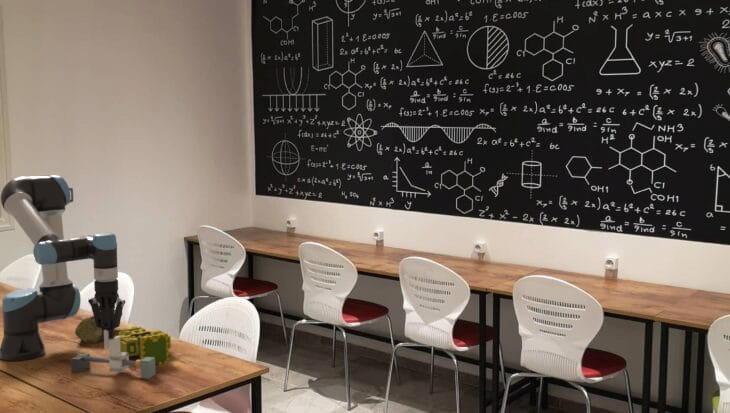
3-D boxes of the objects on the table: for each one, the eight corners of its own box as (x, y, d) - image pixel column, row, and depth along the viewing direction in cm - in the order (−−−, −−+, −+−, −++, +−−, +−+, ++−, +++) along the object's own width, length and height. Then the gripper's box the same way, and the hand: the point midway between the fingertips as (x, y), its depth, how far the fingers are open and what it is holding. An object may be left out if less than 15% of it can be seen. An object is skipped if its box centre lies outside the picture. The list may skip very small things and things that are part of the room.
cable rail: (71, 371, 252) (70, 354, 252) (82, 366, 258) (81, 349, 257) (147, 379, 245) (147, 362, 245) (157, 373, 251) (156, 356, 250)
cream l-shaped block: (109, 371, 249) (108, 340, 248) (118, 366, 254) (117, 336, 253) (120, 372, 248) (119, 341, 247) (128, 367, 253) (127, 336, 252)
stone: (115, 344, 284) (128, 317, 308) (104, 317, 281) (118, 292, 305) (77, 354, 284) (94, 327, 308) (66, 327, 280) (84, 302, 304)
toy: (150, 319, 289) (178, 332, 264) (152, 345, 289) (179, 361, 265) (106, 326, 279) (130, 340, 255) (108, 353, 280) (132, 369, 255)
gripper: (82, 280, 246) (85, 349, 249) (116, 282, 243) (119, 352, 246) (95, 276, 253) (98, 343, 256) (129, 278, 250) (131, 346, 253)
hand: (108, 347), depth 251 cm, fingers closed
